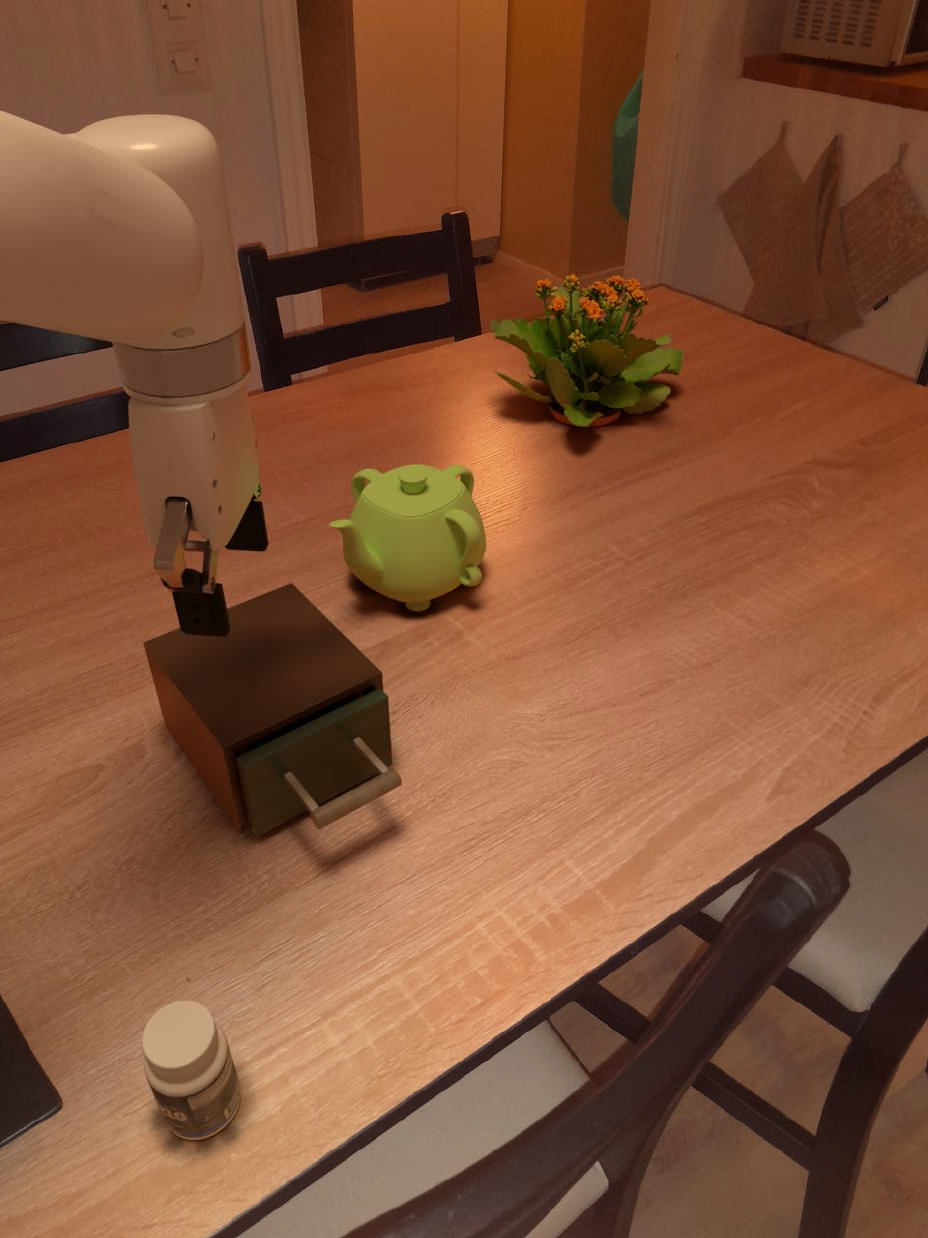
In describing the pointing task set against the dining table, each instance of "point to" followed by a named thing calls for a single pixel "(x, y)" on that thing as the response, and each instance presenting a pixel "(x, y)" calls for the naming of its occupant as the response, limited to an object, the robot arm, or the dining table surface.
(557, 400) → the potted flower
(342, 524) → the teapot
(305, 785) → the drawer
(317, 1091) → the dining table surface
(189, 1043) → the pill bottle
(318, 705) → the cabinet
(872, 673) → the dining table surface
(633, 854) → the dining table surface
